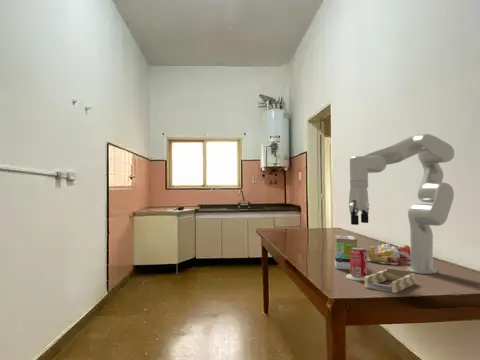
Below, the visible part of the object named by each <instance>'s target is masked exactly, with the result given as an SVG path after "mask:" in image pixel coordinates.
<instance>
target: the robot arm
mask: <svg viewBox="0 0 480 360" xmlns="http://www.w3.org/2000/svg"><path fill="white" fill-rule="evenodd" d="M415 155H418V156H417V157H418V160H419V162H420V163H421V165H422V168H423V176H422V180H421V182H420V185H419V189H418V192H417V197H418V200H419V201H421V202H422V203H415V204H412V205H411V206H409V208H408V210H407V218H408V222H409V229H410V231H409V233H410V238H409V239H410V241H409V243H410V244H409V247H410V257H409V258H410V264H409V265H410V266H407V267H406V270H408V271H411V273H413V274H420V275H421V274H422V275H432V274H433V275H434V274H437V269H436V268H434V267H433V266H434V260H433V259H434V255H433V253H434V252H433V251H434V250H433V249H434V240H433V239H434V237H433V236H434V235H433V230H432V228H431V226H436V227H438V226H442V225H444V224H445V223H446V222H447V219H448V217H449V214H450V211H451V208H452V205H453V200H454V197H455V196H454V195H455V192H454V188H453V187H452V185H450V184H449V183H447V182H443V179H444V170H443V169H442V167H441V166H440V164H441V163H449V162H451V161H452V160H453V159H454V157H455V149H454V148H453V146H452V145H451V144H450V143H448V142H446V141H444V140H443V139H440V138H439V137H437V136H436V135H435V136H434V135H432V134H429V133H425V134H418V135H413V136H410V137H407V138H405V139H402V140H400V141H398V142H395V143H393V144H391V145H389V146H385V147H383V148H380V149H377V150H375V151H372V152H370V153H367V154H365V155H358V156H357V155H355V156H351V157H350V158H349V184H350V185H349V188H350V189H349V194H348V195H349V197H348V199H349V200H348V210H349V212H350V215H349V216H350V225H354V226H359V224H360V223H363V224H364V223H365V224H368V223H369V210H370V208H369V207H370V203H369V192H368V191H369V190H368V188H369V174H377V173H381V172H383V171H384V170H385V169H386V168H387V165H393V164H397V163H401V162H403V161H405V160H406V159H410V158H411V157H414V156H415ZM423 202H424V203H423ZM359 212H361V213H360V221H359ZM359 222H360V223H359Z"/></svg>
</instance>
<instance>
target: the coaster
mask: <svg viewBox="0 0 480 360" xmlns="http://www.w3.org/2000/svg"><path fill="white" fill-rule="evenodd" d="M366 276H369V275H368V274H367V275H366ZM366 276H365V277H366ZM365 277H354V276H352V275H351V274H350V273H348V274H346V275H345V278H346V279H347V280H351V281H357V282H365Z"/></svg>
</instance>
